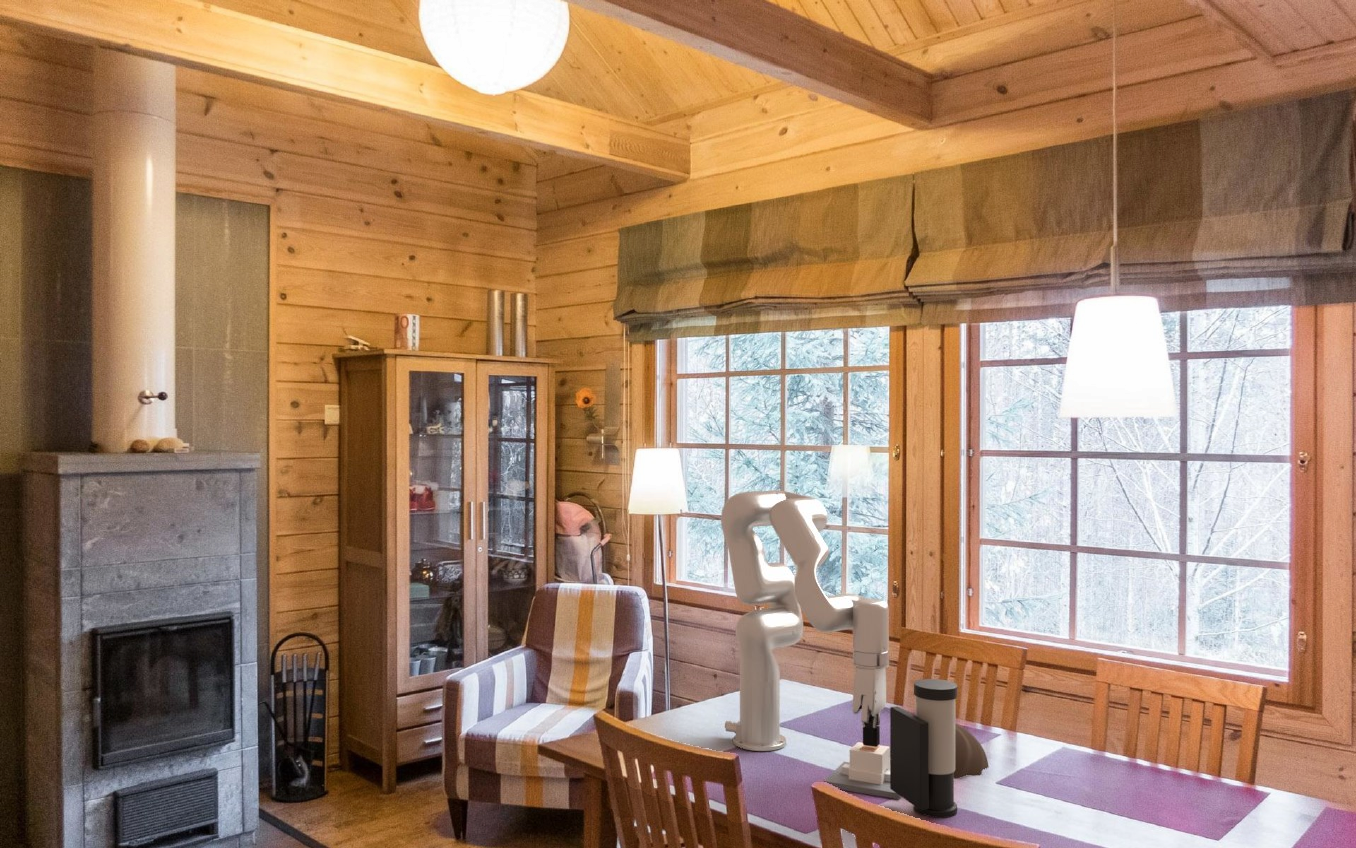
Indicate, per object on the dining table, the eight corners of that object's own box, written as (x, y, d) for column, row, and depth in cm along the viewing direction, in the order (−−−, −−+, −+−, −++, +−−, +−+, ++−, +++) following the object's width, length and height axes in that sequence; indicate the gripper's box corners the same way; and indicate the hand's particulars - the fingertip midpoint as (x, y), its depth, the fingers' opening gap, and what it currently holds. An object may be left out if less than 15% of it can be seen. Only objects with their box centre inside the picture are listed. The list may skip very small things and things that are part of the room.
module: (848, 779, 213) (848, 749, 213) (858, 769, 219) (858, 740, 219) (881, 784, 210) (881, 754, 210) (890, 774, 216) (890, 745, 216)
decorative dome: (987, 783, 215) (987, 736, 215) (893, 773, 221) (893, 727, 221) (989, 755, 233) (989, 712, 233) (901, 747, 239) (901, 704, 240)
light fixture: (971, 818, 195) (971, 690, 195) (920, 824, 192) (920, 694, 192) (938, 797, 206) (938, 675, 206) (889, 802, 203) (889, 679, 203)
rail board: (823, 786, 212) (824, 773, 212) (844, 767, 224) (844, 754, 224) (899, 799, 205) (899, 786, 205) (916, 778, 217) (916, 765, 217)
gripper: (863, 650, 223) (864, 733, 223) (843, 663, 210) (843, 752, 209) (897, 653, 220) (897, 738, 219) (878, 667, 206) (879, 757, 206)
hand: (871, 745), depth 214 cm, fingers closed
